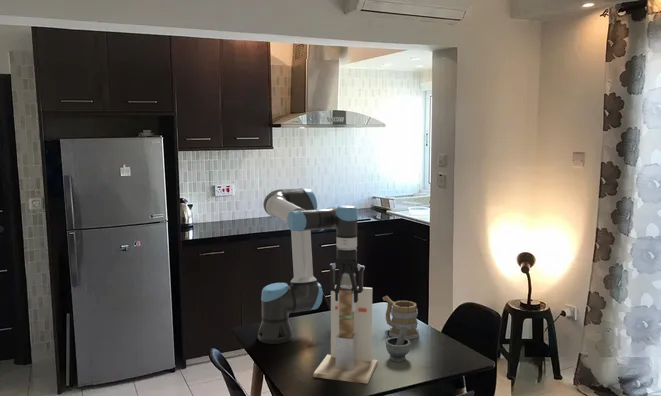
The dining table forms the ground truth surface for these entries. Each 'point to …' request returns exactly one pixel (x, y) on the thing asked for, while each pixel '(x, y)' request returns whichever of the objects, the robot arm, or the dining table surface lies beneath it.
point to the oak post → (346, 312)
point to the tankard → (402, 318)
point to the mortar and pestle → (398, 346)
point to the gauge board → (356, 324)
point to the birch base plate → (359, 373)
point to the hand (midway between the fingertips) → (346, 310)
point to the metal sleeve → (346, 352)
